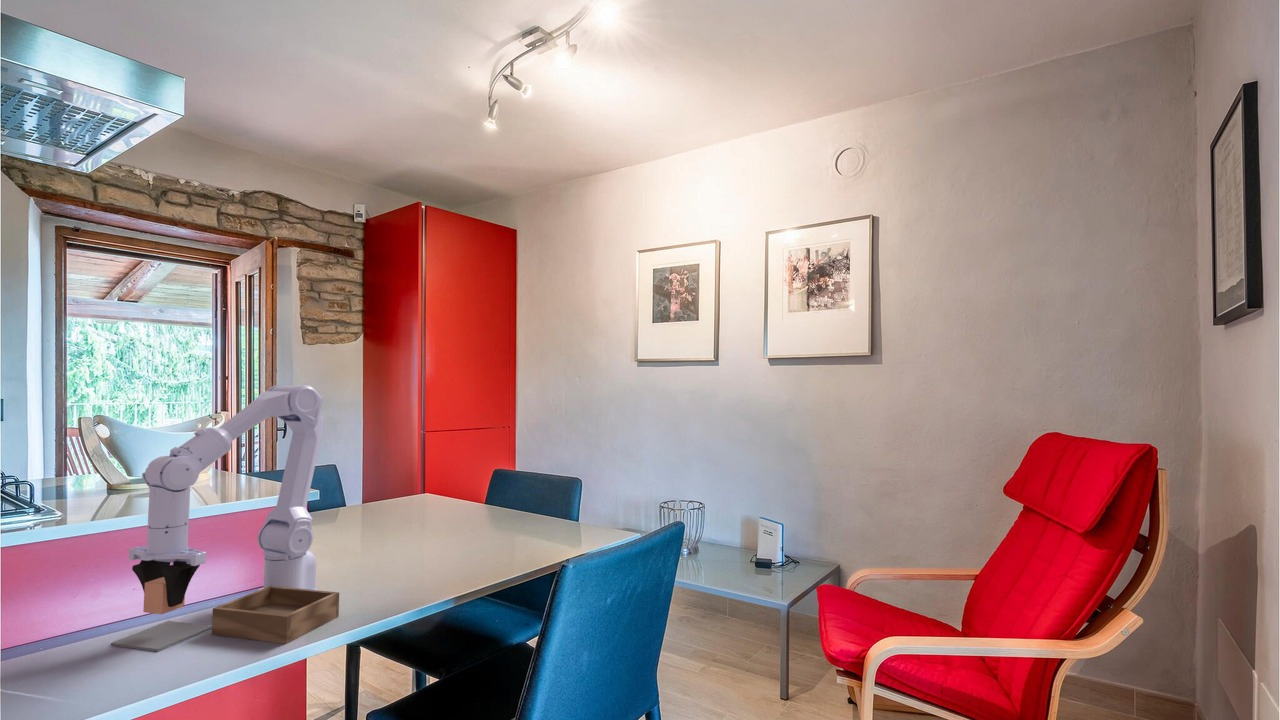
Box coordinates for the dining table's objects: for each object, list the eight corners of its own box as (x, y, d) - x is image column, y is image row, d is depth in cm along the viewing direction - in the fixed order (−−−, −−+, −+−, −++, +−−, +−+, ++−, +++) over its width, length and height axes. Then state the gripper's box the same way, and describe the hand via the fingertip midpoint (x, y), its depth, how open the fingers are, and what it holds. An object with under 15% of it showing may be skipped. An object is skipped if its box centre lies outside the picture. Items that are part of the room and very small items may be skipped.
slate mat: (168, 622, 112) (168, 620, 112) (213, 628, 110) (213, 625, 110) (110, 645, 102) (110, 642, 102) (158, 651, 100) (158, 649, 100)
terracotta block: (166, 604, 108) (167, 575, 108) (184, 606, 107) (185, 577, 108) (143, 612, 104) (144, 582, 105) (161, 614, 103) (163, 584, 104)
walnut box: (269, 609, 119) (270, 585, 119) (338, 616, 116) (339, 592, 116) (211, 634, 107) (212, 608, 107) (286, 643, 103) (287, 616, 104)
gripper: (111, 527, 104) (107, 607, 104) (179, 532, 101) (176, 615, 100) (153, 519, 111) (149, 594, 111) (217, 523, 108) (214, 601, 107)
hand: (164, 603), depth 106 cm, fingers closed on terracotta block, 4 cm apart
